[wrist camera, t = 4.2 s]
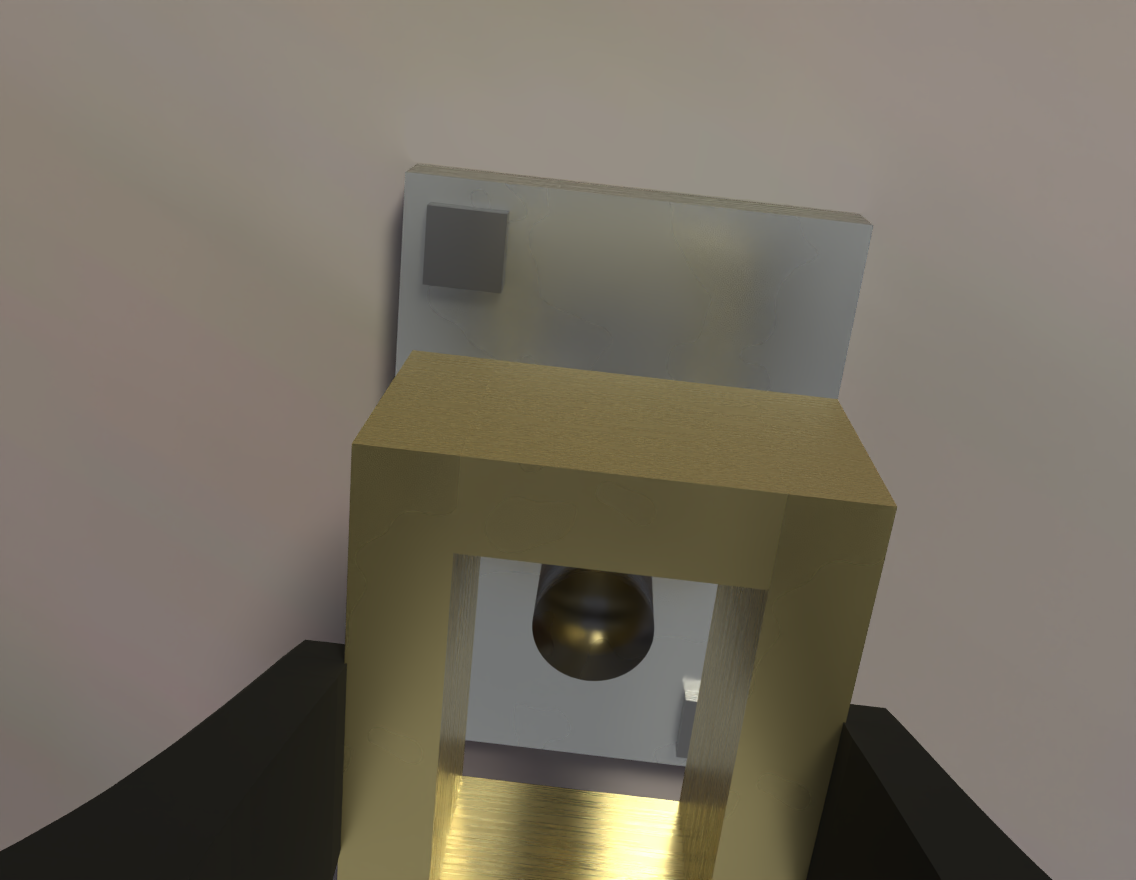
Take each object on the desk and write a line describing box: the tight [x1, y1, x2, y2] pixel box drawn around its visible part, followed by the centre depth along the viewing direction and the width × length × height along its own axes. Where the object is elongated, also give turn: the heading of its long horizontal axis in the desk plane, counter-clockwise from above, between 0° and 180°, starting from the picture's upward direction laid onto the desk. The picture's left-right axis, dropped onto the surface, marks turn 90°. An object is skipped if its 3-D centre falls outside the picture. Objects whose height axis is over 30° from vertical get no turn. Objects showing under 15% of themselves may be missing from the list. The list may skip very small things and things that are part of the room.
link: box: [337, 350, 897, 880], centre depth 13 cm, size 7×5×3 cm
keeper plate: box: [395, 164, 873, 766], centre depth 16 cm, size 10×7×5 cm
